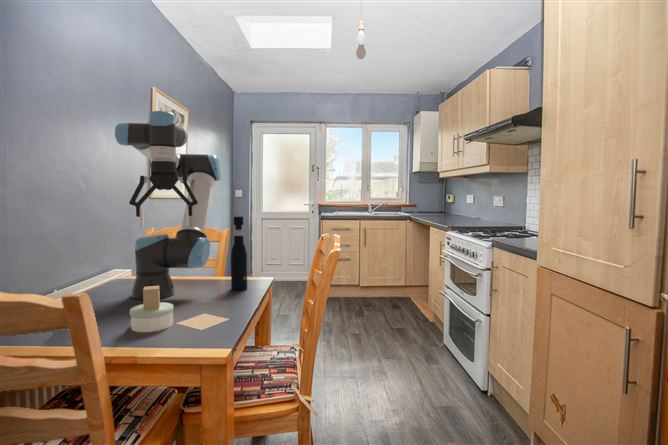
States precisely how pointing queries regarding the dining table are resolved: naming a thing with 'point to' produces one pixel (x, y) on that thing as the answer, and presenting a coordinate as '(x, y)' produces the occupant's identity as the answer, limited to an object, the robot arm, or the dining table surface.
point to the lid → (151, 305)
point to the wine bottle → (238, 259)
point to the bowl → (152, 323)
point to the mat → (202, 321)
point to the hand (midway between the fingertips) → (165, 226)
